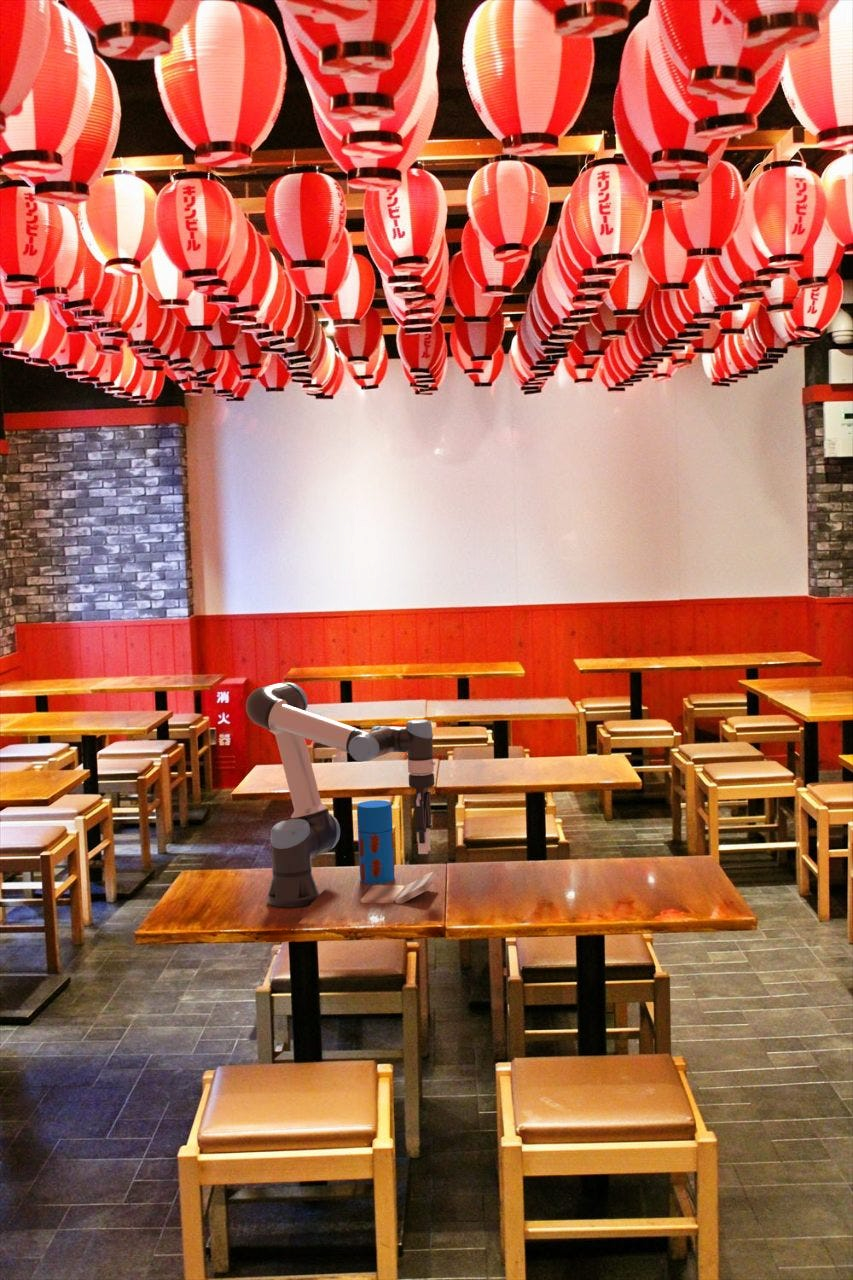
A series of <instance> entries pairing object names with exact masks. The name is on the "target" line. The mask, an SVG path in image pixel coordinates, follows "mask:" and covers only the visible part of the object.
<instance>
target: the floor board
mask: <svg viewBox="0 0 853 1280" xmlns="http://www.w3.org/2000/svg"><path fill="white" fill-rule="evenodd" d="M405 886H406V885H399V884H398V885H393V884H392V885H390V884H386V885H385V884H383V885H382V884H373V885H372V886H371V887H370V888H369V889H368V891H367V892H366V893H365V894H364V895H363V896H362V897H361V899H360V903H364V904H365V903H367V904H369V903H370V904H371V903H372V904H373V903H374V904H395V903H396V902H395V899H396V898H397V897H398V895H399V894H400V893H401V891H402V890H403V889H404V887H405Z"/></svg>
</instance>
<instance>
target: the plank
mask: <svg viewBox="0 0 853 1280" xmlns="http://www.w3.org/2000/svg"><path fill="white" fill-rule="evenodd" d="M436 878H437V874H436V871H435V870H432V871H430V872H429V873H427V874H425V875H423V876H421V877H420V878H417V879H416V880H413V881H412V882H410V883H408V884H406V885H404V886H405V887H404V889H403V890H402V891H401V893H400V894H399V895H398V897H397V898H396V899H395V903H396V904H404V903H406V902H408V901H410V900H411V899H413V898H415V897H417V896H419V895H422V893H425V892H427V891H428V890H429V888H431V887H430V886H431V885H432V884H433V882H434V881H435V880H436Z"/></svg>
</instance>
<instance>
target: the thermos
mask: <svg viewBox="0 0 853 1280" xmlns="http://www.w3.org/2000/svg"><path fill="white" fill-rule="evenodd" d="M356 818H357V821H356V823H357V837H358V838H357V840H358V862H359V878H360V881H361V882H362V883H365V884H370V885H372V884H373V885H381V884H386V883H390V882H392V881H394V880H395V855H394V854H395V853H394V852H395V851H394V832H393V831H394V829H393V808H392V802H390V801H388V800H380V799H379V800H376V799H375V800H367V801H361V802H359V803H357V805H356Z"/></svg>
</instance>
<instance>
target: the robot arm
mask: <svg viewBox="0 0 853 1280" xmlns="http://www.w3.org/2000/svg"><path fill="white" fill-rule="evenodd" d="M308 702H309V701H308V697H307V695H306V692H305V691H304V689H302V688H301V686H299V685H297V684H296V683H293V682H278V683H274V684H271V685H267V686H262V687H259V688H257V689H254V690H253V691H252V692H251V693H250V694H249V696H248V697H247V698H246V703H245V710H246V714H247V717H248V718H249V719H250V720H251V722H253V724H255V725H257V726H259V727H261V728H263V729H264V728H265V729H268V731H269V732H270V733H272V734H274V736H275V739H276V742H277V747H278V751H279V755H280V759H281V762H282V767H283V770H284V775H285V779H286V783H287V786H288V790H289V795H290V798H291V802H292V806H293V813H292V814H291V816H290V819H287V820H282V821H279V822H277V823H275V824H274V825H273V827H271V829H270V839H269V842H270V851H271V853H270V855H271V869H272V877H271V878H272V879H271V882H270V886H269V889H268V893H267V903H268V905H270V906H272V905H273V906H272V907H275V906H276V907H275V908H283V907H285V908H287V909H289V908H298V907H299V908H300V907H306V906H309V905H312V903H314V901H316V900H317V899H318V897H319V895H320V894H319V892H320V891H319V888H318V887H317V884H316V881H315V878H314V876H313V874H312V873H313V872H312V869H313V868H312V859H315V857H318V856H320V855H322V854H326V853H328V852H329V851H331V850H332V849H333V848H335V847H336V845H337V844H338V842H339V840H340V838H341V826H340V823H339V822H338V819H337V818H336V817H334V816H333V814H331V813H330V812H329V807H328V806H327V805H325V804H323V803H322V800H321V797H320V793H319V788H318V785H317V780H316V777H315V771H314V769H313V765H312V762H311V757H310V753H309V750H308V746H307V741H306V739H308V740H310V741H312V742H315V743H319V744H321V745H324V746H327V747H330V748H333V749H336V750H339V751H341V752H345V753H348V754H350V756H351V757H352V759H354V760H355V761H356V762H357V761H358V762H362V763H363V762H369V761H372V760H373V759H376V758H379V757H381V756H384V755H387V754H389V753H406V754H407V773H409V774H408V786H409V787H410V788H412V789H415V793H414V795H413V796H414V797H413V798H414V799H413V801H412V802H413V806H414V807H413V808H414V821H415V822H414V823H415V830H414V833H417V848H418V851H417V853H418V855H428V854H429V851H431V833H430V831H431V830H430V829H432V828H433V824H432V818H431V817H432V816H431V810H432V809H431V794H432V793H431V790H429V788H432V787H434V785H435V774H434V771H435V770H434V769H435V767H434V766H435V765H436V761H434V746H433V745H434V741H433V740H434V739H433V737H434V734H433V726H432V722H431V721H430V720H428V719H412V720H408V721H407V722H406V726H390V725H381V726H380V725H377V726H376V725H375V726H373V727H372V728H371V730H369V731H365V730H363V729H360V728H357V727H354V726H351V725H348V724H345V723H343V722H340V721H336V720H333V719H330V718H328V717H325V716H321V715H318V714H315V713H313V712H309V711H307V708H308Z"/></svg>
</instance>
